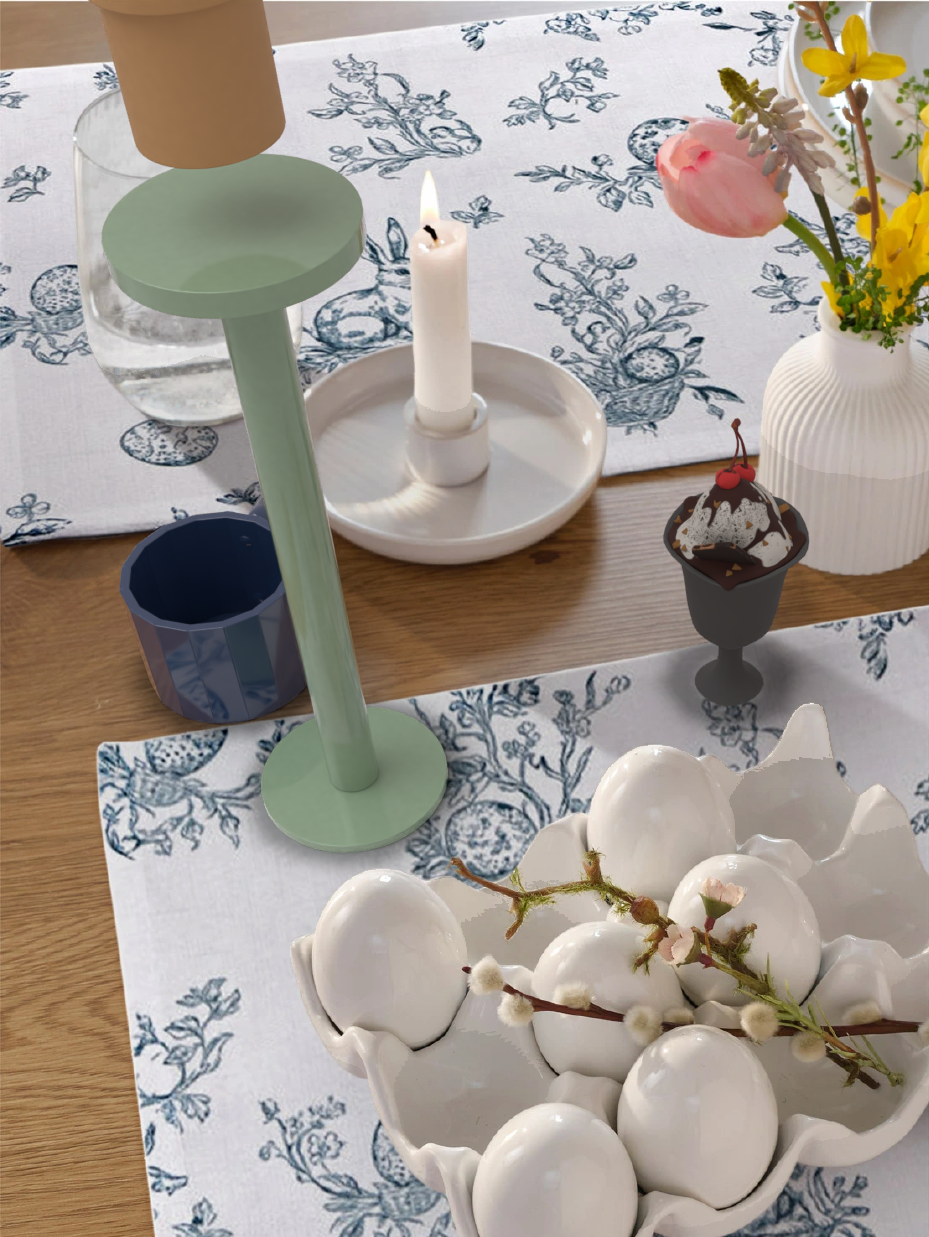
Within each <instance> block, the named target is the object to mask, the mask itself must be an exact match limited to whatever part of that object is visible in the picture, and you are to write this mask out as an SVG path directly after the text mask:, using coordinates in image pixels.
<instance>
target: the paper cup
mask: <svg viewBox="0 0 929 1237" xmlns="http://www.w3.org/2000/svg"><path fill="white" fill-rule="evenodd" d="M87 1H88V2H89V3H91V4H93V5H94V6H95V7H98V10H99V14H100V18H101V22H102V25H103V29H104V32H105V36H106V40H107V43H108V48H109V51H110V55H111V59H112V62H113V67H114V70H115V75H116V78H117V81H118V84H119V89H120V92H121V96H122V100H123V104H124V107H125V111H126V115H127V118H128V122H129V126H130V130H131V134H132V138H133V141H134V144H135V147H136V149H137V151H138V152H139V154H140V155H142V157H144V158H145V159H147V160H149V161H151V162H152V163H154V164H158V165H160V166H164V167H169V168H171V169H173V168H179V169H208V168H216V167H222V166H227V165H231V164H235V163H238V162H241V161H244V160H247V159H249V158H252V157H254V156H256V155H258V154H263V153H264V152H265V151H267V150H269V149H270V148H271V147H272V146H273V145H274V144H276V143H277V142H278V140H279V139H280V138H281V137H282V135H283V134H284V133H285V132H284V131H285V129H286V125H287V124H286V122H287V121H286V114H285V109H284V103H283V98H282V94H281V88H280V84H279V83H280V82H279V77H278V73H277V72H278V71H277V67H276V61H275V57H274V51H273V46H272V41H271V36H270V31H269V26H268V20H267V15H266V9H265V5H264V4H265V3H264V0H87Z"/></svg>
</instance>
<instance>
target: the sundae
mask: <svg viewBox="0 0 929 1237" xmlns="http://www.w3.org/2000/svg"><path fill="white" fill-rule="evenodd" d="M741 424H742V421H741V419H740V418H739V417H736V418H734V419H733V420H732V422H731V424H730V427H731V428H732V430H733V433H734V437H735V440H736V448H735V452H734V455H733V458H732V460H731V462H730V464H729V467H723V468H721V469H720V470H718V471H717V472H716V473H715V478H714V482H715V483H714V484H713V485H711V486H709V487H708V488H707V489H706V490H705V491H702V492H701V493H698V494H696V495H689V496H687V497H686V498H684V500H683V502H681V503H680V505H679V506H678V507H677V508H676V509H675V510H674V511H673V512H672V514H671V515H670V517H669V518H668V520H667V522H666V524H665V527H664V531H663V535H662V539H663V540H662V542H663V544H664V546H665V548H666V550H667V552H668V553H669V554H670V556H671V557H672V558H673V559H674V560H675V561H676V562H677V563H679V564H680V567H681V570H682V574H683V581H684V588H685V597H686V603H687V604H686V605H687V608H688V611H689V615H690V620H691V624H692V625H693V627H694V628H695V630H696V632H697V633H698V634H699V635H700V636H701V637H702V638H704V639H705V640H706V641H708V642H709V643H711V644H713V645H715V646H717V647H718V652H717V653H718V654H717V657H716V659H713V660H710V661H709V662H707V663H705V664H703V665H702V667H700V668H699V669H698V670H697V672H696V674H695V675H694V676H695V677H694V686H695V687H696V689H697V691H698V693H699V694H700V695H701V696H702V697H704V699H706V700H707V701H709V702H711V703H712V704H714V705H715V704H716V705H718V706H723V707H735V706H740V705H743V704H746V703H748V702H750V701H752V700H753V699H755V698H756V697H757V696H758V695H759V694H760V693H761V691H762V690H763V687H764V678H763V676H762V674H761V672H760V671H759V670H758V668H757V667H755V666H754V665H753V664H752V663H750V662H748V661H747V660H744V659H743V651H744V648H745V647H747V646H750V645H752V644H754V643H756V642H757V641H759V640H761V639H763V637H764V636H765V635H766V634H767V633H769V631H770V630H771V628H772V625H773V622H774V620H775V618H776V615H777V612H778V608H779V604H780V600H781V595H782V593H783V592H782V591H783V587H784V583H785V579H786V576H787V573H788V571H789V569H792V568H793V567H794V566H796V565H797V564H798V563H799V562H800V561H801V560H803V558H805V557H806V554H807V552H808V551H809V546H810V536H809V535H810V534H809V533H810V532H809V530H808V527H807V524H806V521H805V520H804V518H803V516H802V514H801V512H800V511H798V509H796V507H795V506H794V505H792V504H791V503H789V501H787V500H785V499H783V498H781V497H777V496H774V495H773V493H772V492H770V491H769V490H768V488H766V487H765V485H763V484H762V483H760V482H758V481H756V480H755V479H756V475H757V473H756V469H755V468H754V466H753V465H752V464H750V463H749V462H748V454H747V449H746V446H745V442H744V440H743V437H742V435H741V433H740V432H739V427H740V425H741ZM740 446H741V451H742V458H743V461H740V462H737V459H738V455H739V451H740Z"/></svg>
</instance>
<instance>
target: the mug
mask: <svg viewBox="0 0 929 1237" xmlns="http://www.w3.org/2000/svg"><path fill="white" fill-rule="evenodd" d="M125 559H126V560H125V561H124V562H123V564H122V565H121V568H120V575H119V576H120V578H119V586H118V587H119V588H118V592H119V594H120V597H121V601H122V604H123V606H124V609H125V612H126V615H127V618H128V621H129V624H130V627H131V630H132V632H133V635H134V638H135V642H136V644H137V647H138V650H139V653H140V655H141V659H142V662H143V664H144V668H145V671H146V674H147V676H148V679H149V682H150V685H151V686H152V688H153V690H154V692H155V693H156V695H157V697H158V699H159V701H160V703H162V705H164V706H165V707H167V708H168V709H169V710H170V711H173V712H174V713H175V714H177V715H179V716H180V717H183V718H185V719H189V720H190V721H191V720H192V721H195V722H199V723H207V724H216V725H217V724H219V725H221V724H222V725H223V724H237V723H243V722H247V721H252V720H255V719H258V718H261V717H264V716H267V715H269V714H271V713H273V712H275V711H278V710H279V709H281V708H283V707H284V706H286V705H287V704H289V703H290V702H291V701H293V700H295V698H296V697H297V696H298V695H299V694H301V693H302V692H303V691H304V690H305V689H306V688H307V687H308V686H307V682H306V678H305V674H304V670H303V665H302V661H301V657H300V653H299V649H298V644H297V640H296V636H295V632H294V628H293V623H292V619H291V615H290V611H289V607H288V602H287V598H286V594H285V590H284V586H283V581H282V577H281V573H280V569H279V564H278V560H277V556H276V552H275V548H274V543H273V539H272V535H271V531H270V527H269V522H268V518H267V514H266V510H265V506H264V501H263V497H262V493H261V494H260V495H259V496H258V498H257V499H256V501H255V502H254V504H253V505H252V506H251V509H249V512H248V513H243V512H236V511H227V510H226V511H218V512H207V513H196V514H192V515H190V516H187V517H184V518H181V519H178V520H176V521H173V522H170V523H167V524H165V525H163V526H160V527H159V528H157V529H156V530H155V531H153V532H152V533H151V534H149V535H148V536H147V537H144V538H143V539H142V540H140V542H138V543H137V544H135V546H134V548H133V549H132V551H131V552H130V554H128V556H127V558H125Z"/></svg>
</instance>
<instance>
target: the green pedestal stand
mask: <svg viewBox="0 0 929 1237" xmlns="http://www.w3.org/2000/svg"><path fill="white" fill-rule="evenodd" d="M367 237H368V231H367V223H366V218H365V211H364V205H363V200H362V197H361V195H360V193H359V190H358V189H357V188H356V187H355V186H354V184H353V183H352V182H351V181H350V180H349V179H348V178H347V177H345V176H344V175H343V174H342V173H340V172H338V171H337V170H335V169H333V168H331V167H330V166H327V165H325V164H323V163H320V162H316V161H314V160H310V159H306V158H303V157H298V156H291V155H285V154H275V153H260V154H258V155H256V156H254V157H252V158H249V159H247V160H244V161H241V162H238V163H235V164H231V165H227V166H222V167H216V168H208V169H179V168H171V169H168V170H166V171H163V172H161V173H158V174H156V175H154V176H153V177H151V178H149V179H146V180H145V181H143V182H142V183H140V184H138V185H137V186H135V187H134V188H132V189H131V190H130V191H129V192H128V193H126V194H125V195H124V196H122V197H121V198H120V200H118V201H117V203H115V205H114V206H113V207H112V208H111V210H110V211H109V212H108V214H107V216H106V218H105V220H104V222H103V225H102V229H101V238H100V239H101V245H102V252H103V254H104V258H105V261H106V264H107V267H108V271H109V275H110V276H111V278H112V281H113V282H114V284H115V285H116V286H117V288H119V290H121V292H122V293H123V294H124V295H126V296H127V297H128V298H129V299H130V300H132V301H134V302H136V303H137V304H139V305H141V306H143V307H146V308H148V309H151V310H153V311H155V312H159V313H163V314H167V315H170V316H176V317H181V318H188V319H190V318H191V319H200V320H201V319H202V320H204V319H205V320H219V321H220V325H221V329H222V334H223V337H224V341H225V345H226V348H227V349H226V350H227V354H228V358H229V362H230V363H229V364H230V366H231V370H232V374H233V379H234V384H235V387H236V392H237V396H238V400H239V404H240V405H239V406H240V408H241V412H242V416H243V421H244V425H245V429H246V433H247V438H248V442H249V447H250V450H251V455H252V459H253V464H254V468H255V471H256V476H257V479H258V484H259V489H260V493H261V494H262V497H263V501H264V506H265V510H266V514H267V518H268V522H269V527H270V531H271V535H272V539H273V543H274V548H275V552H276V556H277V560H278V564H279V569H280V573H281V577H282V581H283V586H284V590H285V594H286V598H287V602H288V607H289V611H290V615H291V619H292V623H293V628H294V632H295V636H296V640H297V644H298V649H299V653H300V657H301V661H302V665H303V670H304V674H305V678H306V682H307V686H306V687H307V690H308V695H309V699H310V703H311V706H312V711H313V716H314V717H312V718H310V719H307V720H306V721H304V722H302V723H301V724H299V725H298V726H296V727H295V728H293V729H292V730H291V731H289V732H288V733H287V734H286V735H285V736H284V737H282V738H281V739H280V741H278V743H277V744H276V745H275V746H274V748H273V749H272V751H271V752H270V754H269V756H268V757H267V760H266V761H265V764H264V767H263V770H262V774H261V779H260V780H261V781H260V793H261V797H262V801H263V805H264V808H265V810H266V812H267V813H266V814H267V815H268V817H269V819H270V820H271V822H272V823H273V824H274V825H275V826H276V827H277V829H278V830H279V831H280V832H281V833H282V834H284V835H286V836H287V837H288V838H289V839H290V840H293V841H294V842H296V843H298V844H300V845H303V846H305V847H308V848H311V849H315V850H319V851H321V852H322V851H323V852H328V853H344V854H345V853H346V854H347V853H360V852H365V851H372V850H374V849H375V850H376V849H379V848H382V847H383V848H384V847H385V846H388V845H391V844H393V843H395V842H398V841H400V840H402V839H404V838H405V837H407V836H408V835H410V834H412V833H413V832H415V831H416V830H418V828H420V827H421V826H423V824H425V823H426V821H428V819H430V818H431V817H432V816H433V814H434V813H435V812H436V810H437V809H438V807H439V806H440V804H441V802H442V800H443V798H444V796H445V793H446V790H447V786H448V780H449V768H448V761H447V756H446V753H445V749H444V747H443V745H442V743H441V741H440V740H439V738H438V737H437V736H436V734H434V732H433V731H432V730H431V729H430V728H429V727H427V726H426V725H425V724H424V723H422V722H421V721H419V719H417V718H414V717H412V716H411V715H409V714H407V713H403V712H400V711H398V710H394V709H390V708H385V707H377V706H367V704H366V699H365V695H364V694H365V693H364V689H363V684H362V680H361V675H360V670H359V665H358V658H357V654H356V649H355V644H354V640H353V634H352V629H351V624H350V619H349V615H348V614H349V613H348V609H347V605H346V604H347V603H346V601H345V600H346V598H345V594H344V589H343V585H342V579H341V575H340V569H339V565H338V560H337V554H336V549H335V545H334V539H333V534H332V530H331V524H330V520H329V515H328V510H327V504H326V500H325V494H324V489H323V485H322V480H321V475H320V470H319V465H318V460H317V455H316V450H315V445H314V440H313V435H312V429H311V426H310V425H311V424H310V420H309V414H308V410H307V405H306V401H305V400H306V398H305V395H304V390H303V385H302V381H301V374H300V371H299V366H298V360H297V355H296V351H295V350H296V349H295V345H294V340H293V335H292V330H291V325H290V319H289V316H288V311H287V308H289V307H292V306H294V305H297V304H300V303H303V302H305V301H307V300H309V299H311V298H314V297H315V296H317V295H319V294H321V293H323V292H324V291H326V290H328V289H330V288H331V287H332V286H334V285H336V284H337V283H338V282H339V281H341V280H342V279H343V278H344V277H345V276H346V275H347V274H348V273H349V272H351V271H352V269H353V268H354V267H355V266H356V264H357V263H358V262H359V260H360V258H361V256H362V255H363V254H364V250H365V246H366V243H367Z"/></svg>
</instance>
